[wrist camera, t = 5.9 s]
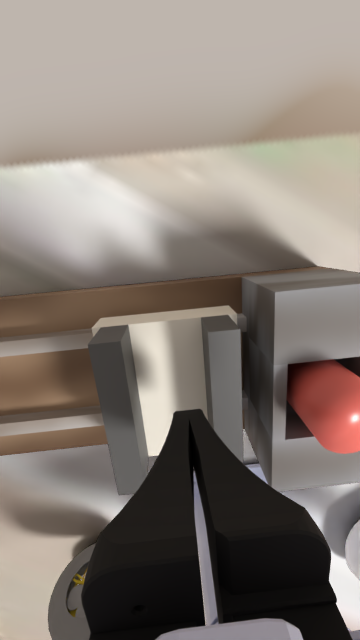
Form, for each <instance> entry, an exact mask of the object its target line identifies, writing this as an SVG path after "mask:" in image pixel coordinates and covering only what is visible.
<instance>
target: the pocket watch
mask: <svg viewBox="0 0 360 640" xmlns="http://www.w3.org/2000/svg"><path fill="white" fill-rule="evenodd" d="M95 544H96V543H94V544H93V545H91V546H89V547H87V548H86V549H84V550H83V551H81V552H80V553H79V554H78V555H77V556H76V557H74V559H73V560H72V561H71V562H70V563H69V564H68V565H67V567H66V568H65V570H64V571H63V572H62V574H61V575H60V577H59V579H58V581H57V583H56V585H55V587H54V590H53V593H52V595H51V599H50V603H49V609H48V624H49V632H50V635H51V637H52V640H89V638H90V629H89V626H88V623H87V619H86V616H85V613H84V609H83V606H82V601H81V593H82V588H83V584H84V580H85V576H86V571H87V568H88V564H89V561H90V558H91V555H92V552H93V550H94V547H95ZM80 579H81V580H82V581H81V580H80ZM77 584H80V585H77Z"/></svg>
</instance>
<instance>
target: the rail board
mask: <svg viewBox="0 0 360 640" xmlns="http://www.w3.org/2000/svg"><path fill="white" fill-rule="evenodd" d="M227 305H229V306H230V307H231V308H232V309H233V310H234V311H235V312H236V313H237V326H238V327H239V328H240V333H241V378H242V422H243V429H245V431H246V433H247V436H248V438H249V440H250V443H251V445H252V448H253V450H254V452H255V455H256V457H257V459H258V462H259V464H260V467H261V469H262V471H263V474H264V476H265V478H266V481H267V483H268V485H269V486H271V487H272V488H274V489H275V490H276V491H278V492H282V491H290V490H299V489H307V488H316V487H324V486H333V485H342V484H350V483H359V482H360V451H358V452H354V453H347V454H341V453H335V452H331V451H329V450H327V449H326V448H324V447H323V446H322V445H321V444H320V443H319V442H318V440H317V439H316V438H315V436H314V435H313V434H312V433H311V431H310V430H309V429H308V427H307V426H306V425H305V423H304V422H303V421H302V419H301V418H300V417H299V416H298V414H297V413H296V412H295V410H294V409H293V408H292V406H291V405H290V404H289V402H288V401H287V400H286V399H287V370H288V364H293V363H302V362H312V361H321V360H331V359H334V360H335V361H337V362H338V363H340V364H341V365H343V366H344V367H345V368H347V369H348V370H350V371H351V372H353V373H354V374H355V375H357V376H358V377H360V273H358V272H352V271H345V270H339V269H332V268H326V267H319V266H316V267H306V268H295V269H285V270H275V271H264V272H254V273H243V274H233V275H223V276H212V277H202V278H192V279H181V280H171V281H160V282H150V283H140V284H129V285H119V286H109V287H98V288H88V289H77V290H67V291H57V292H46V293H36V294H26V295H15V296H5V297H0V456H2V455H11V454H20V453H29V452H38V451H47V450H56V449H65V448H74V447H83V446H92V445H101V444H108V441H107V436H106V432H105V427H104V422H103V417H102V412H101V407H100V403H99V398H98V393H97V388H96V383H95V378H94V374H93V369H92V364H91V359H90V354H89V349H88V343H89V342H90V341H91V339H92V338H93V333H92V327H93V326H94V325H95V324H96V323H97V322H98V320H99V319H100V318H106V317H116V316H127V315H137V314H147V313H157V312H167V311H177V310H187V309H197V308H207V307H217V306H227Z"/></svg>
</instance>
